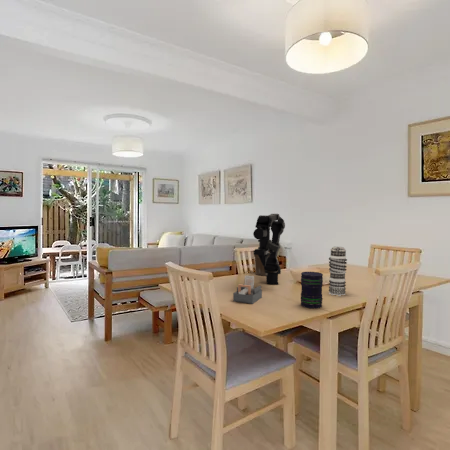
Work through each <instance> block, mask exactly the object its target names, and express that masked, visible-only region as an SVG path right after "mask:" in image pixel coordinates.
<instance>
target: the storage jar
mask: <svg viewBox="0 0 450 450" xmlns="http://www.w3.org/2000/svg"><path fill="white" fill-rule="evenodd" d="M323 276H324V274H323V273H322V272H316V271H302V272H301V276H300V285H301V288H300V289H301V292H300V306H301V307H303V308H307V309H314V308H315V309H321V308H322V307H323V282H324V278H323ZM320 307H321V308H320Z"/></svg>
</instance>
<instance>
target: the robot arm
mask: <svg viewBox="0 0 450 450" xmlns="http://www.w3.org/2000/svg"><path fill="white" fill-rule="evenodd" d="M255 223H256V224H255V225H254V226H255V230H253V232H252V235H253V237H254V238H255V239H256V240H258V241H257V242H258V243H259V246H258V247H257V248H255V249H254V250H253V251H254V252H253V256H254V255H258V256H259V258H260V260H261V262H262V265H263V266H264V270H265V273H267V275H266V276H265V278H266V279H265V280H266V284H267V285H279V275H281V273H282V271H281V266H280V262H279V260H278V253H279V251H280V249H281V245H280V239H281V236H282V234H283V233H284V231H285V228H286V223H285V220H284V218H283V217H281V215H280V214H279V213H270V214H268V215H259V216H258V217H257V220H256V222H255ZM270 230H271V231H270ZM271 232H272V235H271ZM270 235H271V236H272V237H270ZM270 238H271V239H270ZM268 251H270V253H269V252H268ZM268 256H269V257H268Z"/></svg>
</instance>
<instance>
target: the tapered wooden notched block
mask: <svg viewBox="0 0 450 450" xmlns="http://www.w3.org/2000/svg"><path fill="white" fill-rule="evenodd" d="M244 284H245V285H250V286H251V291H253V289H254V288H255V285H254V284H255V276H254V275H244ZM247 293H248V287H245V289H243V290H241V291H239V294H244V295H246V294H247Z"/></svg>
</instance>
